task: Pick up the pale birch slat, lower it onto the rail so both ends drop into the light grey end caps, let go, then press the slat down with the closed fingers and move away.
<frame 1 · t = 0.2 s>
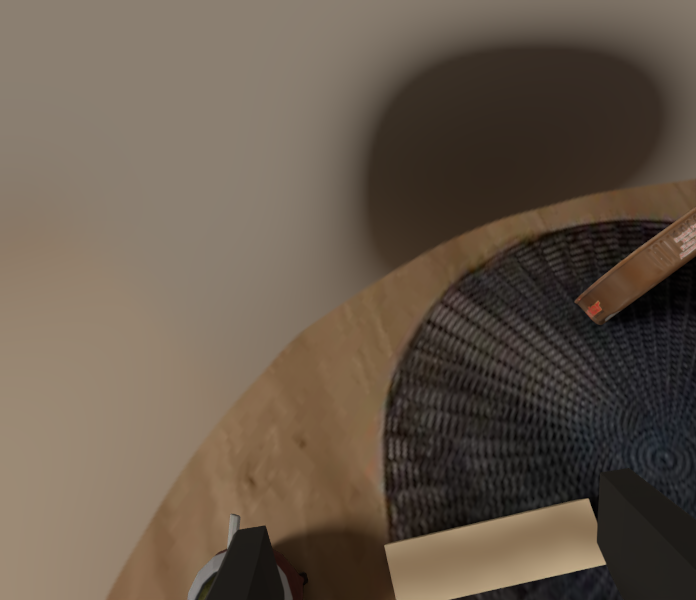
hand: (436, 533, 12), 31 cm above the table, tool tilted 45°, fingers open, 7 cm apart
mate gourd: (268, 585, 41), on the table
tin: (646, 275, 45), on the table
slat: (489, 551, 40), on the table
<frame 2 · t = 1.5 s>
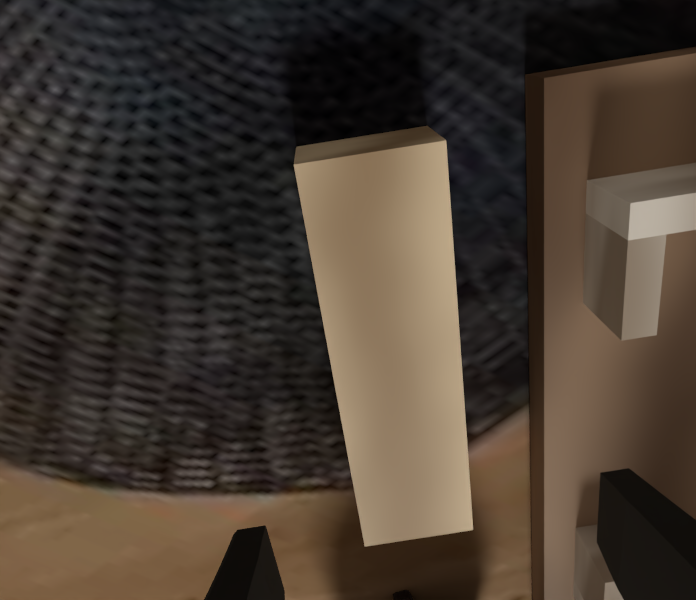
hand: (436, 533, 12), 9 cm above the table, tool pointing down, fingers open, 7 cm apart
endcap rail: (659, 387, 22), on the table
slat: (387, 332, 20), on the table
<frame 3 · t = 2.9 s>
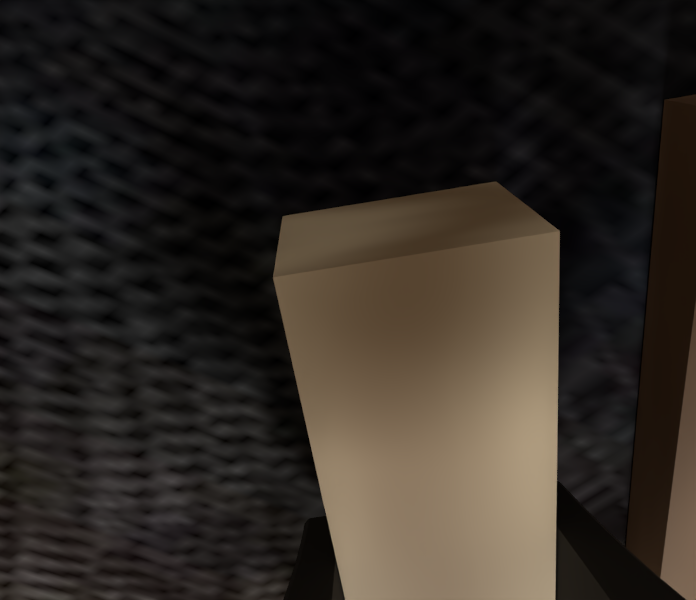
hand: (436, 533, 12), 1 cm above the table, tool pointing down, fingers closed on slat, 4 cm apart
slat: (423, 482, 13), on the table, touching gripper
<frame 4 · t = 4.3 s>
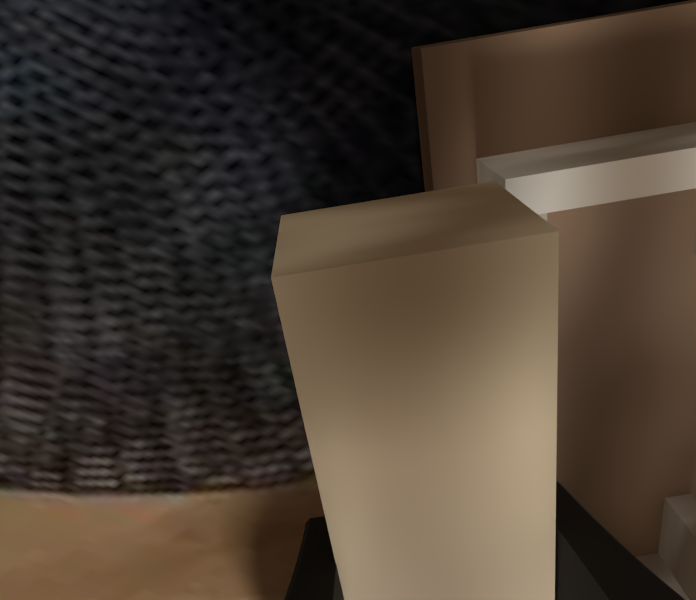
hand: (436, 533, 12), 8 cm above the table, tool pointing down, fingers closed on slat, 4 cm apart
endcap rail: (579, 378, 21), on the table
slat: (422, 483, 13), point 7 cm above the table, touching gripper
when the fingers open (4 cm above the table, at t = 6.0 s): slat stays where it is, resting on endcap rail.
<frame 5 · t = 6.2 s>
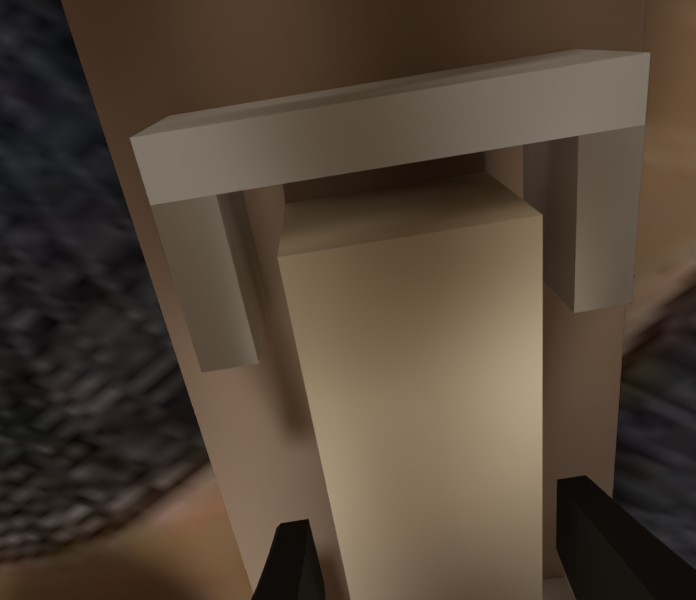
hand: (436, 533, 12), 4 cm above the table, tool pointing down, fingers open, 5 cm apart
endcap rail: (409, 425, 15), on the table
slat: (418, 461, 14), point 1 cm above the table, touching endcap rail
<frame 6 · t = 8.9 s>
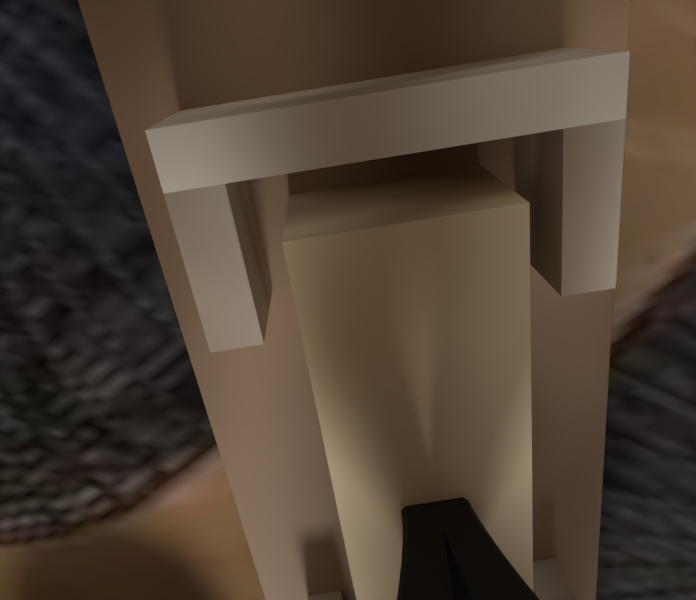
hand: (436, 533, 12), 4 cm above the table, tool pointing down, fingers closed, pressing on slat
endcap rail: (407, 410, 16), on the table
slat: (415, 444, 15), point 1 cm above the table, touching endcap rail, gripper
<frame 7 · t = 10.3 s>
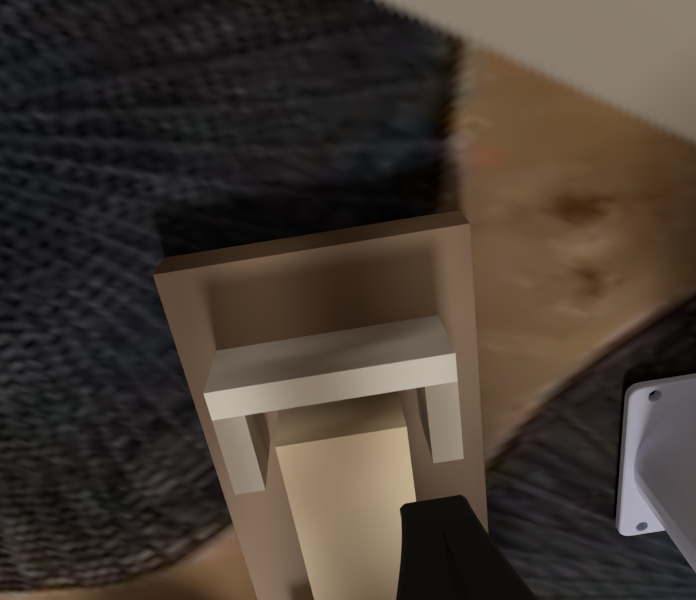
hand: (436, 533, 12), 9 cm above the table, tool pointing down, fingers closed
endcap rail: (360, 499, 24), on the table
slat: (363, 526, 23), point 1 cm above the table, touching endcap rail
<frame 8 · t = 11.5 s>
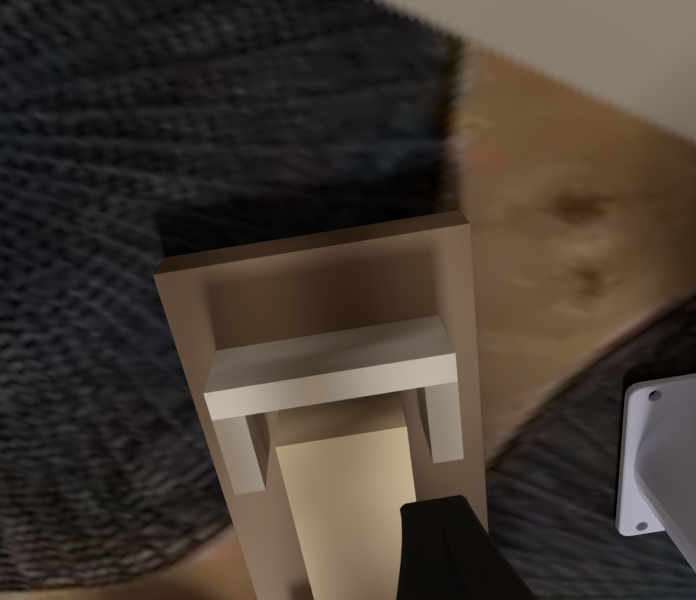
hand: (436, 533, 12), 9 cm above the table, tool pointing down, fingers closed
endcap rail: (360, 499, 24), on the table
slat: (363, 526, 23), point 1 cm above the table, touching endcap rail
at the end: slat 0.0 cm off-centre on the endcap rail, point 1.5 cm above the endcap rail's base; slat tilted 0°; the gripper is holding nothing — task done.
